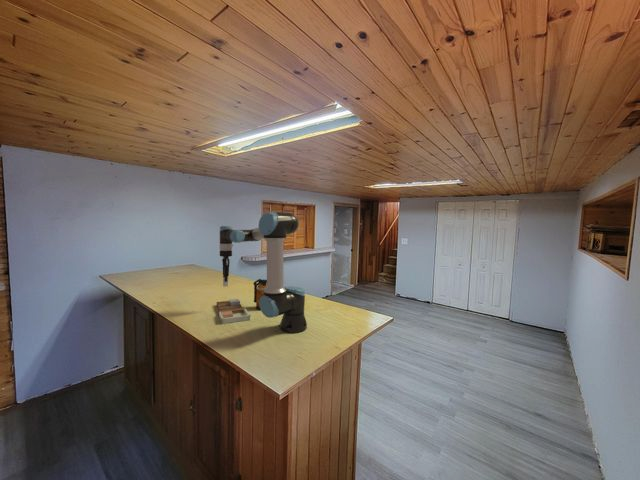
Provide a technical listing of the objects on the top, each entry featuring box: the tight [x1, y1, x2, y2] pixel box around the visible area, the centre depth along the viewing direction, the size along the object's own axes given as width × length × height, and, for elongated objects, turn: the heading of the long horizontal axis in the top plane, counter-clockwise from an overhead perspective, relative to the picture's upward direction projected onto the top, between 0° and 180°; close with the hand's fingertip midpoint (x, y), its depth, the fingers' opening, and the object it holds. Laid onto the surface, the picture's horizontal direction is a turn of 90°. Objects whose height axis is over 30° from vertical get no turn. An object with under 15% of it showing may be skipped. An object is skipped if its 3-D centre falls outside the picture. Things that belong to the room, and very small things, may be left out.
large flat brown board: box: [216, 300, 245, 314], centre depth 178 cm, size 22×14×2 cm, turn 27°
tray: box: [218, 308, 251, 325], centre depth 162 cm, size 13×16×3 cm
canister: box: [253, 278, 267, 311], centre depth 182 cm, size 9×11×20 cm
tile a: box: [221, 311, 233, 318], centre depth 163 cm, size 6×6×2 cm
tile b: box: [228, 298, 241, 306], centre depth 181 cm, size 6×6×2 cm
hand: (225, 286), depth 173 cm, fingers closed
